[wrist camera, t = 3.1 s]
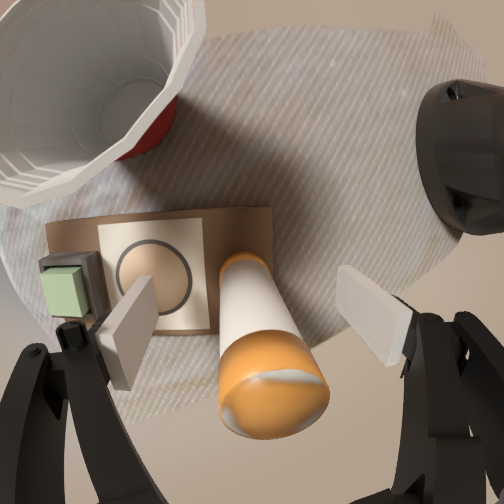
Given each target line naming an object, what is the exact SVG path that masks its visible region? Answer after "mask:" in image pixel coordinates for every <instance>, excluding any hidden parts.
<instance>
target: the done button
mask: <svg viewBox="0 0 504 504" xmlns="http://www.w3.org/2000/svg"><path fill="white" fill-rule="evenodd" d="M39 275H40V280H41V284H42V288H43V292H44V296H45V300H46V303H47V307H48V310H49V314H50V315H56V316H72V317H83V316H84V315H85V313H86V312H87V311H88V310H89V309H90V308H91V306H90V302H89V298H88V294H87V289H86V284H85V279H84V274H83V269H82V265H63V266H53V267H51V268H49V269H48V270H46V271H44V272H43V273H41V274H39Z"/></svg>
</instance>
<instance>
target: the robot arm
mask: <svg viewBox="0 0 504 504" xmlns="http://www.w3.org/2000/svg"><path fill="white" fill-rule="evenodd" d="M416 148H417V157H418V163H419V168H420V173H421V177H422V180H423V184H424V187H425V189H426V192H427V195H428V197H429V199H430V201H431V203H432V205H433V207H434V209H435V210H436V212H437V213H438V215H439V216H440V217H441V218H442V220H443V221H444V222H445V223H446V224H448V225H449V226H450V227H452V228H454V229H456V230H458V231H462V232H465V233H468V234H471V235H480V236H481V235H488V234H496V233H502V232H504V87H500V86H496V85H491V84H487V83H481V82H476V81H470V80H463V79H455V80H451V81H447V82H444V83H441V84H438V85H436V86H434V87H432V88H431V89H430V90H429V91H428V92H427V94H426V95H425V96H424V98H423V100H422V103H421V105H420V108H419V112H418V117H417V124H416ZM334 307H335V308H336V309H337V310H338V312H339V313H340V314H341V315H342V316H343V317H344V319H345V320H346V321H347V322H348V323H349V325H350V326H351V327H352V328H353V329H354V331H355V332H356V333H357V334H358V335H359V336H360V338H361V339H362V340H363V341H364V342H365V343H366V345H367V346H368V347H369V348H370V350H371V351H372V352H373V353H374V354H375V356H376V357H377V358H378V359H379V360H380V362H381V363H382V364H383V365H384V367H390V366H393V365H397V364H399V362H400V358H401V355H402V353H403V354H404V355H405V356H406V358H407V359H406V361H405V365H404V368H403V371H402V374H401V376H400V378H402V377H403V375H404V402H403V418H402V429H401V439H400V447H399V454H398V461H397V468H396V474H395V479H394V483H393V486H392V488H391V490H390V489H389V488H388V489H385V490H383V491H381V492H378V493H375V494H373V495H370V496H367V497H364V498H361V499H359V500H356V501H353V502H351V503H350V504H486V473H487V476H488V479H489V481H490V485H491V487H492V489H493V491H494V493H495V495H496V496H497V498H498V499H499V501H498V502H496V503H495V504H504V347H503V346H502V345H501V344H500V342H499V341H498V340H497V339H496V338H495V337H494V336H493V334H492V333H491V332H490V331H489V330H488V329H487V328H486V327H485V325H484V324H483V323H482V322H481V321H480V320H479V319H478V318H477V317H476V316H475V315H473V314H471V313H470V312H467V311H464V312H457V313H456V314H455V317H454V321H453V322H444V320H443V319H442V318H441V317H440V316H439V315H436V314H433V313H422V314H420V313H419V312H417V311H416V310H415V309H413V308H412V307H411V306H408V304H407V303H405V302H404V301H403V300H401V299H399V297H396V296H394V295H391V294H389V293H388V292H386V291H385V290H384V289H382V288H381V287H380V286H378V285H377V284H375V283H374V282H373V281H371V280H370V279H369V278H367V277H366V276H364V275H363V274H362V273H360V272H359V271H357V270H356V269H355V268H353V267H352V266H350V265H339V266H338V273H337V285H336V296H335V306H334ZM158 319H159V314H158V308H157V302H156V296H155V290H154V283H153V276H152V275H143V276H139V278H138V279H137V280H136V281H135V283H134V284H133V285H132V286H131V288H130V289H129V290H128V291H127V293H126V294H125V295H124V296H123V298H122V299H121V300H120V302H119V303H118V304H117V305H116V307H115V308H114V309H113V311H112V312H111V313H105V314H103V315H102V316H100V317H99V318H98V319H97V320H96V321H95V323H94V324H93V325H92V326H91V328H90V329H89V330H88V331H87V328H86V324H85V323H84V322H82V321H78V320H74V321H68V322H65V323H63V324H61V325H60V326H59V327H58V328H57V329H56V335H57V338H58V340H59V343H60V346H61V349H62V352H57V353H49V352H48V349H47V347H46V346H45V345H44V344H42V343H35V344H34V343H33V344H31V345H28V346H27V347H26V348H25V349H24V350H23V351H22V352H21V354H20V357H19V359H18V361H17V363H16V365H15V367H14V370H13V372H12V374H11V377H10V379H9V382H8V384H7V386H6V389H5V391H4V394H3V397H2V399H1V402H0V504H65V494H64V493H65V492H64V447H65V445H64V444H65V430H66V418H67V410H68V402H70V407H71V412H72V416H73V421H74V425H75V429H76V433H77V437H78V441H79V444H80V448H81V451H82V454H83V458H84V461H85V464H86V466H87V470H88V472H89V475H90V478H91V481H92V483H93V486H94V488H95V491H96V493H97V496H98V499H99V503H98V504H169V503H168V502H167V500H166V499H165V498H164V496H163V495H162V493H161V492H160V490H159V488H158V487H157V485H156V484H155V483H154V481H153V479H152V477H151V476H150V474H149V472H148V471H147V469H146V467H145V465H144V464H143V462H142V460H141V458H140V456H139V455H138V453H137V451H136V449H135V447H134V445H133V443H132V441H131V439H130V437H129V435H128V433H127V431H126V429H125V427H124V425H123V422H122V420H121V418H120V416H119V413H118V411H117V409H116V406H115V404H114V402H113V399H112V397H111V394H110V392H109V389H108V387H107V385H108V383H109V381H110V380H111V383H112V385H113V388H114V389H115V390H125V391H131V388H132V385H133V383H134V380H135V377H136V375H137V372H138V369H139V367H140V364H141V362H142V359H143V356H144V354H145V351H146V349H147V346H148V344H149V341H150V339H151V336H152V334H153V331H154V329H155V327H156V324H157V322H158ZM468 349H469V352H470V353H469V359H468V360H467V359H466V358H465V357H466V354H467V352H468ZM469 426H470V429H471V431H472V434H473V437H471V436H470V431H469ZM485 470H486V472H485Z"/></svg>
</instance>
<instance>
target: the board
mask: <svg viewBox="0 0 504 504" xmlns="http://www.w3.org/2000/svg"><path fill="white" fill-rule="evenodd" d="M45 226H46V234H47V241H48V248H49V254H50V255H48V256H46V257H44V258H42V259H41V260H39V261H38V262H39V267H40V272H41V273H43V272H44V271H46V270H48V269H49V268H51V267H53V266H63V265H82V269H83V274H84V279H85V284H86V289H87V294H88V298H89V302H90V306H91V308H90V309H89V310H88V311H87V312H86V313H85V315H84V316H83V317H72V316H56V315H52V317H56V318H65V321H66V322H68V321H74V320H78V321H82V322H84V323H85V324H86V328H87V331H88V330H89V329H90V328H91V326H92V325H93V324H94V323H95V321H96V320H97V319H98V318H99V317H100V316H102V315H103V314H105V313H111V312H112V311H113V309H114V308H115V307H116V305H117V304H118V303H119V302H120V300H121V299H122V298H123V296H124V295H125V294H126V293H127V291H128V290H129V289H130V288H131V286H132V285H133V284H134V283H135V281H136V280H137V279H138V278H139V276H143V275H152V276H153V283H154V290H155V296H156V302H157V308H158V314H159V319H158V322H157V324H156V327H155V329H154V331H153V334H152V335H194V334H220V286H219V278H220V269H221V266H222V264H223V262H224V261H225V260H226V259H227V258H228V257H229V256H231V255H232V254H234V253H237V252H243V251H247V252H252V253H254V254H257V255H258V256H260V257H261V258H262V259H263V260H264V262H265V263H266V265H267V267H268V269H269V271H270V273H271V276H272V279H273V207H271V206H250V207H223V208H202V209H184V210H169V211H155V212H142V213H130V214H119V215H109V216H99V217H89V218H80V219H72V220H64V221H56V222H50V223H47V224H45Z"/></svg>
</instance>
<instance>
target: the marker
mask: <svg viewBox="0 0 504 504" xmlns="http://www.w3.org/2000/svg"><path fill="white" fill-rule="evenodd" d="M219 286H220V362H219V367H218V375H219V414H220V418H221V420H222V422H223V423H224V425H225V426H226V427H227V428H228V429H230V430H231V431H232V432H234V433H236V434H238V435H240V436H244V437H247V438H251V439H260V440H270V439H278V438H283V437H287V436H290V435H293V434H296V433H298V432H300V431H302V430H304V429H306V428H307V427H309V426H310V425H312V424H313V423H314V422H315V421H317V420H318V419H319V418H320V416H321V415H322V414H323V413H324V411H325V410H326V408H327V406H328V403H329V399H330V391H329V387H328V385H327V383H326V381H325V379H324V377H323V375H322V373H321V371H320V369H319V367H318V365H317V363H316V361H315V359H314V357H313V355H312V354H311V351H310V349H309V348H308V346H307V344H306V343H305V342H304V341H303V339H302V337H301V335H300V333H299V331H298V329H297V327H296V325H295V323H294V321H293V319H292V317H291V315H290V313H289V311H288V309H287V307H286V305H285V303H284V301H283V299H282V297H281V295H280V293H279V291H278V289H277V287H276V285H275V283H274V281H273V279H272V276H271V273H270V271H269V269H268V267H267V265H266V263H265V262H264V260H263V259H262V258H261V257H260V256H258V255H257V254H254V253H252V252H247V251H243V252H237V253H234V254H232V255H231V256H229V257H228V258H227V259H226V260H225V261H224V262H223V264H222V266H221V269H220V278H219Z"/></svg>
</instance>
